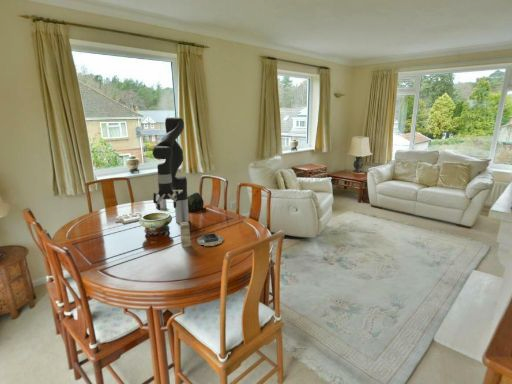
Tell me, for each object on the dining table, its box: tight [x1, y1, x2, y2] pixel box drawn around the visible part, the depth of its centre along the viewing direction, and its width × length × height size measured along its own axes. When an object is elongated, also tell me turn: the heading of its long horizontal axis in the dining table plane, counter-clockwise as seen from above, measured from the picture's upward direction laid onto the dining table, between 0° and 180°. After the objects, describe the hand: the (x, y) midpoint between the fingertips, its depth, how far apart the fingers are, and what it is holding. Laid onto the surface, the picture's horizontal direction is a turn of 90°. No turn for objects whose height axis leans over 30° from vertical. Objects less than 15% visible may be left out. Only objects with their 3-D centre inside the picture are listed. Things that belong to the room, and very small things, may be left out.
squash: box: [187, 192, 205, 211], centre depth 240 cm, size 14×15×15 cm
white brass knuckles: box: [115, 211, 142, 225], centre depth 217 cm, size 3×18×15 cm
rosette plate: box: [196, 232, 224, 247], centre depth 180 cm, size 16×16×3 cm
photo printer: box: [154, 195, 167, 210], centre depth 243 cm, size 10×4×12 cm, turn 60°
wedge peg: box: [179, 222, 191, 248], centre depth 173 cm, size 4×4×14 cm
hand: (167, 208), depth 170 cm, fingers open, 8 cm apart
